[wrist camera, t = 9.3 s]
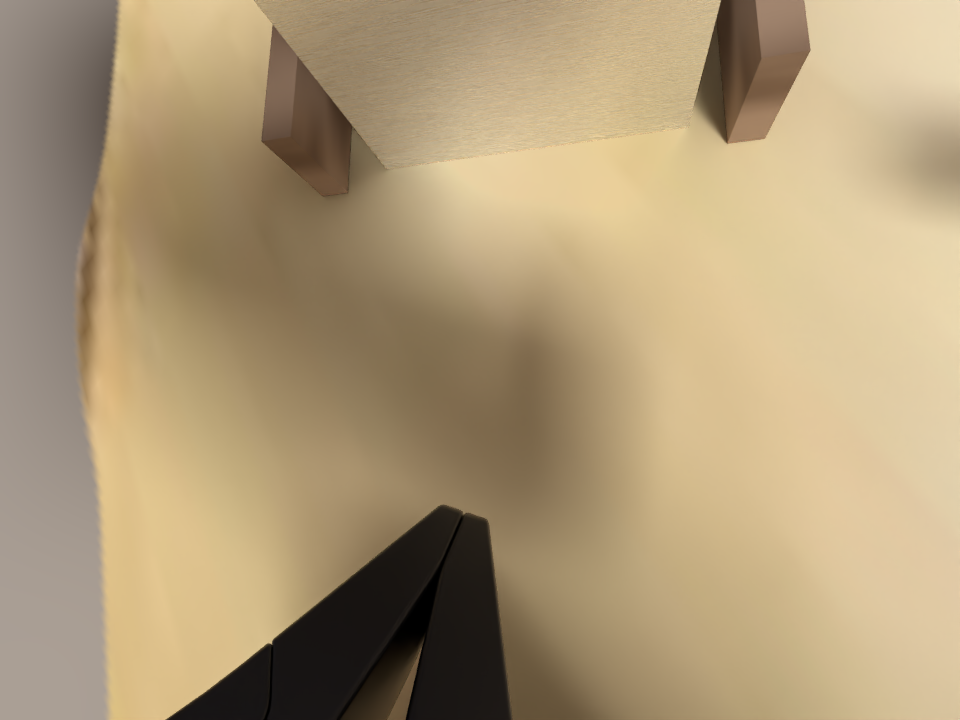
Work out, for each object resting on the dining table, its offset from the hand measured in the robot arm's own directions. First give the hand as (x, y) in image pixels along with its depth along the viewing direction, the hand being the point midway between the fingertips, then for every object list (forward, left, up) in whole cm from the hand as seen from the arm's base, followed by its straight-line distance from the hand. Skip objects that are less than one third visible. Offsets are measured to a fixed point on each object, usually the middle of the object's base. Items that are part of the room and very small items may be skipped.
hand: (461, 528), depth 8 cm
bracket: (+17, 0, -9) cm, 20 cm away
